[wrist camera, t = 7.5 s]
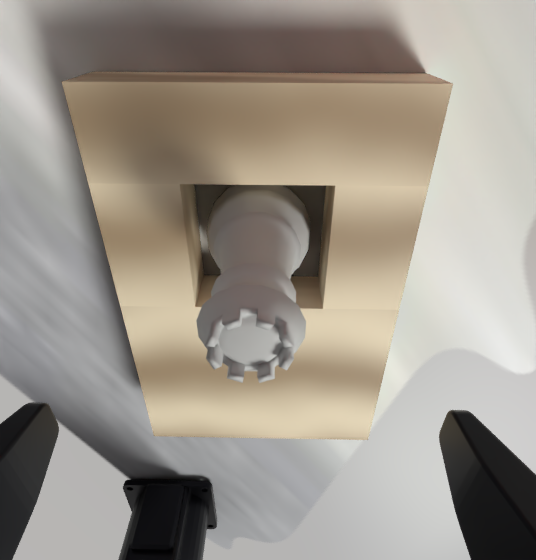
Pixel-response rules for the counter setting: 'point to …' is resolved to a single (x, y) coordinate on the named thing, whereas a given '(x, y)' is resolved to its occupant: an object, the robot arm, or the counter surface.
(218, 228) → the rook chess piece
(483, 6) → the counter surface
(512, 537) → the robot arm
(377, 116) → the socket block
